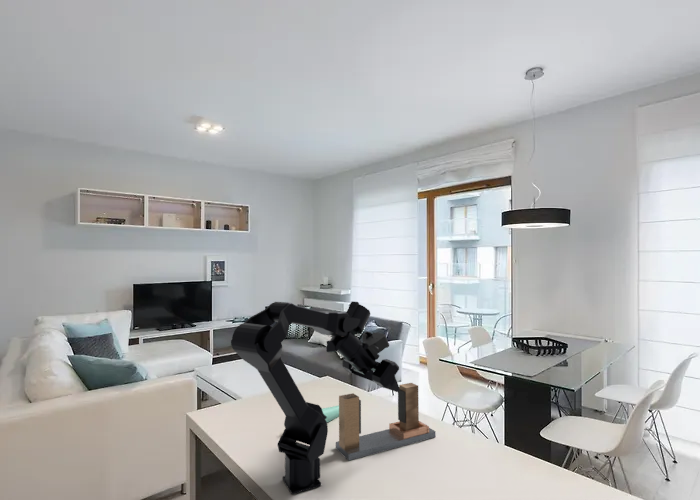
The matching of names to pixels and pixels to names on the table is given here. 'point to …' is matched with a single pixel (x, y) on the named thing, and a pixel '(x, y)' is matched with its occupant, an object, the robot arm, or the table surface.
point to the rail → (374, 442)
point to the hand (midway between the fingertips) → (387, 385)
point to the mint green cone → (331, 413)
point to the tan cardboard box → (408, 406)
